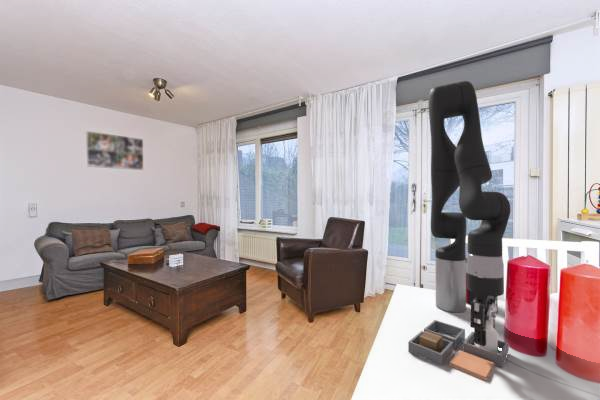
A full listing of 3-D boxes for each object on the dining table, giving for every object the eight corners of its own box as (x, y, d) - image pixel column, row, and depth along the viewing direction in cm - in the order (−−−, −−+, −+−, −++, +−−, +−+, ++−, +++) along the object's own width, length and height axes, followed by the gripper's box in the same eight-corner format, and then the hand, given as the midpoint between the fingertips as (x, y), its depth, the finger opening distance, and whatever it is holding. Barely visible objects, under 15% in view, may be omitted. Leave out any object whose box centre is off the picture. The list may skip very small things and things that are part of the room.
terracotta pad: (459, 353, 66) (459, 350, 66) (493, 366, 60) (493, 362, 60) (449, 365, 61) (449, 362, 61) (485, 380, 56) (485, 377, 56)
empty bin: (435, 328, 78) (434, 319, 78) (465, 338, 72) (465, 329, 72) (423, 338, 73) (423, 329, 73) (455, 349, 67) (455, 339, 67)
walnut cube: (425, 346, 69) (425, 330, 69) (442, 352, 66) (442, 336, 66) (419, 352, 66) (419, 336, 66) (436, 359, 64) (436, 342, 63)
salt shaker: (498, 359, 63) (498, 319, 63) (479, 356, 64) (479, 317, 64) (491, 349, 67) (491, 312, 67) (473, 347, 68) (473, 310, 68)
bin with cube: (421, 340, 72) (421, 330, 72) (453, 352, 66) (453, 342, 66) (408, 351, 67) (408, 341, 67) (441, 365, 61) (441, 355, 61)
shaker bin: (472, 340, 71) (472, 331, 71) (508, 353, 65) (508, 343, 65) (462, 352, 66) (462, 342, 66) (501, 367, 60) (501, 356, 60)
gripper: (475, 264, 73) (475, 323, 73) (457, 275, 63) (458, 342, 64) (509, 269, 68) (510, 333, 68) (496, 282, 58) (496, 356, 58)
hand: (485, 338), depth 66 cm, fingers open, 8 cm apart
